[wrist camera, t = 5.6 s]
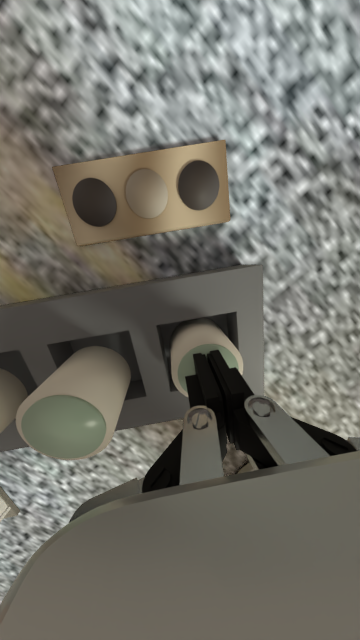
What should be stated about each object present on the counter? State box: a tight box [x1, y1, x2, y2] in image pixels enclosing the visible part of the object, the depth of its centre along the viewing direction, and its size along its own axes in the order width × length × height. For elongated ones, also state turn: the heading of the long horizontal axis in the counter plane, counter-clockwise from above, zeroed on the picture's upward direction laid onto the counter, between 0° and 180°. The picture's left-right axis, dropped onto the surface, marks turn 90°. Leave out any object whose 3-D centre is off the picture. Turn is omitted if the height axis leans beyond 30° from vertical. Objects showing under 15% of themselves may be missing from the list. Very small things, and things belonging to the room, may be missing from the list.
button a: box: [170, 317, 243, 397], centre depth 14 cm, size 5×5×5 cm
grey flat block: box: [0, 265, 264, 452], centre depth 15 cm, size 26×12×4 cm, turn 99°
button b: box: [16, 346, 131, 460], centre depth 11 cm, size 5×5×5 cm
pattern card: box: [52, 140, 230, 246], centre depth 13 cm, size 12×5×1 cm, turn 99°
